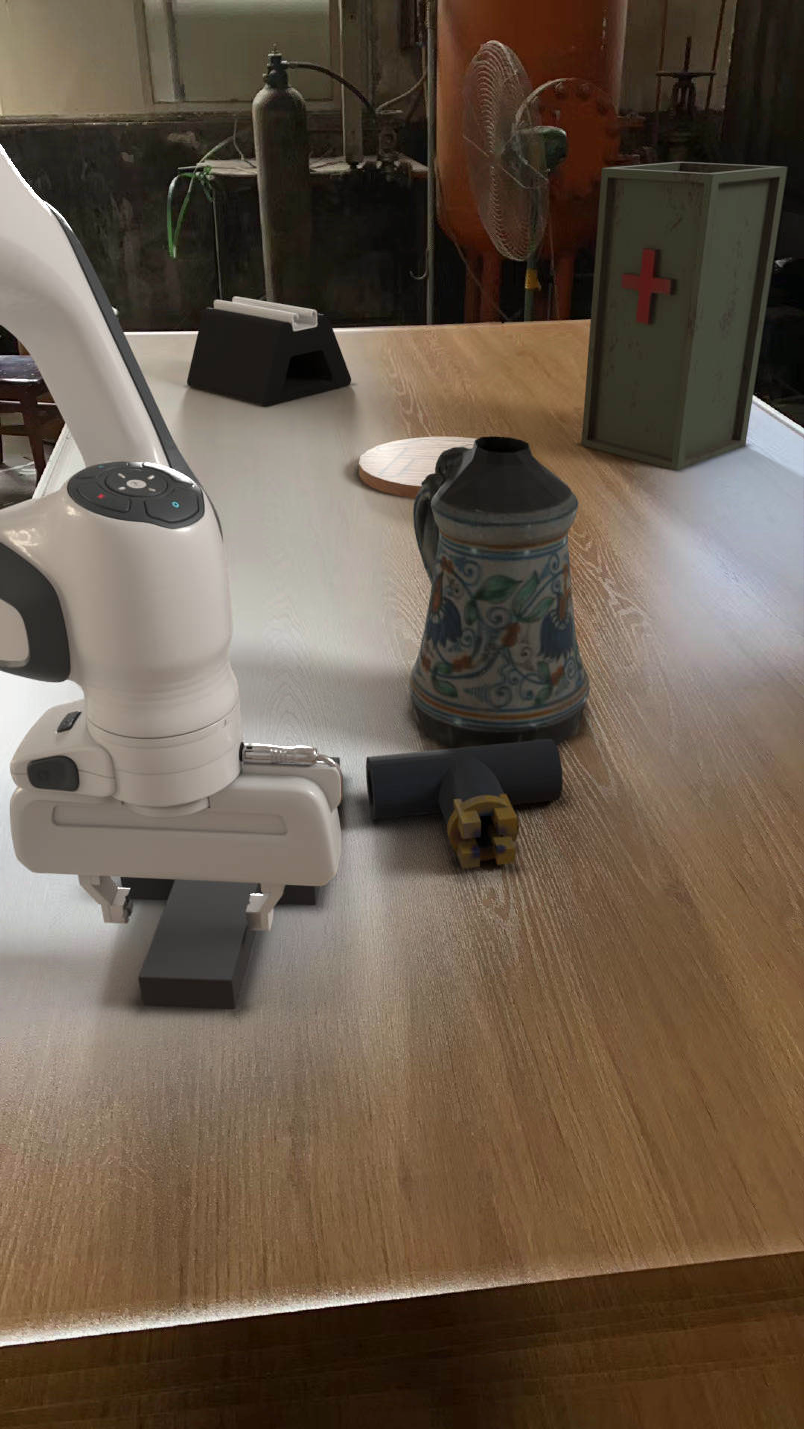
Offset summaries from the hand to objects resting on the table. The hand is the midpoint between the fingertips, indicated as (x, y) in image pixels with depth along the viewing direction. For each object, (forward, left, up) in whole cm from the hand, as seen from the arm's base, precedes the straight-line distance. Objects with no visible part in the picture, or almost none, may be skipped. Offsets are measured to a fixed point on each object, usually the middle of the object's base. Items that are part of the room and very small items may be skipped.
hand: (189, 920), depth 72 cm
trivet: (+13, +106, -4) cm, 107 cm away
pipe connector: (+18, +16, -4) cm, 25 cm away
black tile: (+1, +2, -3) cm, 4 cm away
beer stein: (+19, +35, -4) cm, 40 cm away
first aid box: (+48, +121, -4) cm, 130 cm away
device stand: (-22, +159, -4) cm, 160 cm away
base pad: (0, +14, -3) cm, 14 cm away
